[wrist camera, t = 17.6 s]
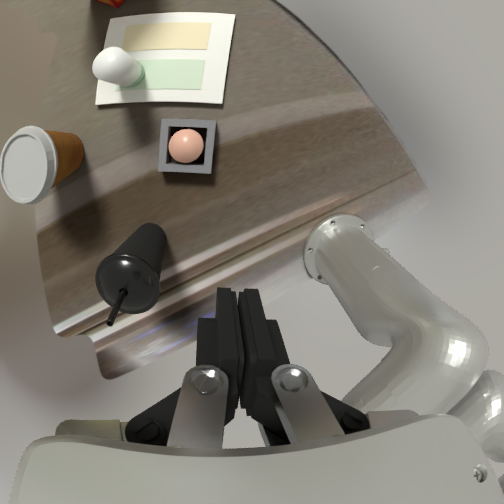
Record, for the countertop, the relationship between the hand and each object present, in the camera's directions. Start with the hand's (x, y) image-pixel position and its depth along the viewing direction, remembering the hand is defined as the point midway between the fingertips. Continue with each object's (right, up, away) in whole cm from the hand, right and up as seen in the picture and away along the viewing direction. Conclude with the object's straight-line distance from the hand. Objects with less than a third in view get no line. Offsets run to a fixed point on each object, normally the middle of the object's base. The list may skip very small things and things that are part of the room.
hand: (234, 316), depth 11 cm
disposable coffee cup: (-27, +17, +21) cm, 38 cm away
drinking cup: (-14, +5, +28) cm, 32 cm away
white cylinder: (-15, +26, +17) cm, 35 cm away
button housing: (-8, +17, +23) cm, 30 cm away
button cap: (-8, +17, +23) cm, 29 cm away
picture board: (-11, +29, +17) cm, 36 cm away
